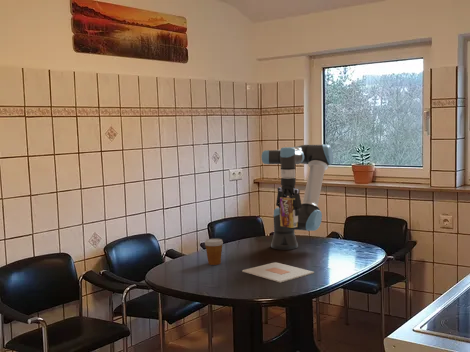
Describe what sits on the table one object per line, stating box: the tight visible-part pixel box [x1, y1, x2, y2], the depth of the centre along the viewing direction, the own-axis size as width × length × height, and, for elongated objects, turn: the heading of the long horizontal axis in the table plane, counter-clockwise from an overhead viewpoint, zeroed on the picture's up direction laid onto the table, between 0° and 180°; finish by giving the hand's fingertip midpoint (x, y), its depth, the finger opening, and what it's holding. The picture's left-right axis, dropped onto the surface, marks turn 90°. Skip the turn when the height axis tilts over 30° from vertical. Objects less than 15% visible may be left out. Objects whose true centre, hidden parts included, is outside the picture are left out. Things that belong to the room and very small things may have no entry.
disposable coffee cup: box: [204, 238, 224, 266], centre depth 280 cm, size 10×10×12 cm
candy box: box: [280, 196, 297, 228], centre depth 283 cm, size 9×4×15 cm, turn 39°
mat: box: [242, 261, 315, 283], centre depth 261 cm, size 26×22×1 cm
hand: (289, 221), depth 284 cm, fingers closed on candy box, 9 cm apart
